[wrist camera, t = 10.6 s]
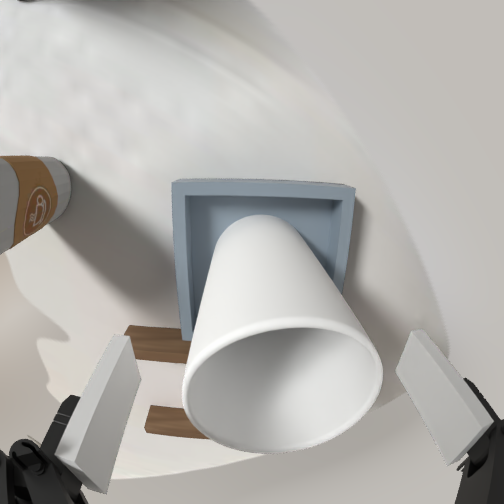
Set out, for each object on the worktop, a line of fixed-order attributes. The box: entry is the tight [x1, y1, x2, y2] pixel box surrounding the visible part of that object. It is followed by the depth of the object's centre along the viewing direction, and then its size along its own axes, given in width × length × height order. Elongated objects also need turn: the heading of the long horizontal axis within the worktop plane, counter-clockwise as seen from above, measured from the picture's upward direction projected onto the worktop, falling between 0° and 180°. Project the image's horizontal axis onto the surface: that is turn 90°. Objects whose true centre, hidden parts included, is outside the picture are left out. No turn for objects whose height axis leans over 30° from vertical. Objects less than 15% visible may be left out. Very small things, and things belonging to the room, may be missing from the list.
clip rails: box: [124, 325, 209, 439], centre depth 28 cm, size 14×9×4 cm, turn 178°
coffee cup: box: [0, 156, 71, 254], centre depth 15 cm, size 8×8×15 cm
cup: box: [182, 215, 383, 454], centre depth 18 cm, size 8×8×16 cm
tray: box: [172, 179, 356, 341], centre depth 24 cm, size 14×14×3 cm
